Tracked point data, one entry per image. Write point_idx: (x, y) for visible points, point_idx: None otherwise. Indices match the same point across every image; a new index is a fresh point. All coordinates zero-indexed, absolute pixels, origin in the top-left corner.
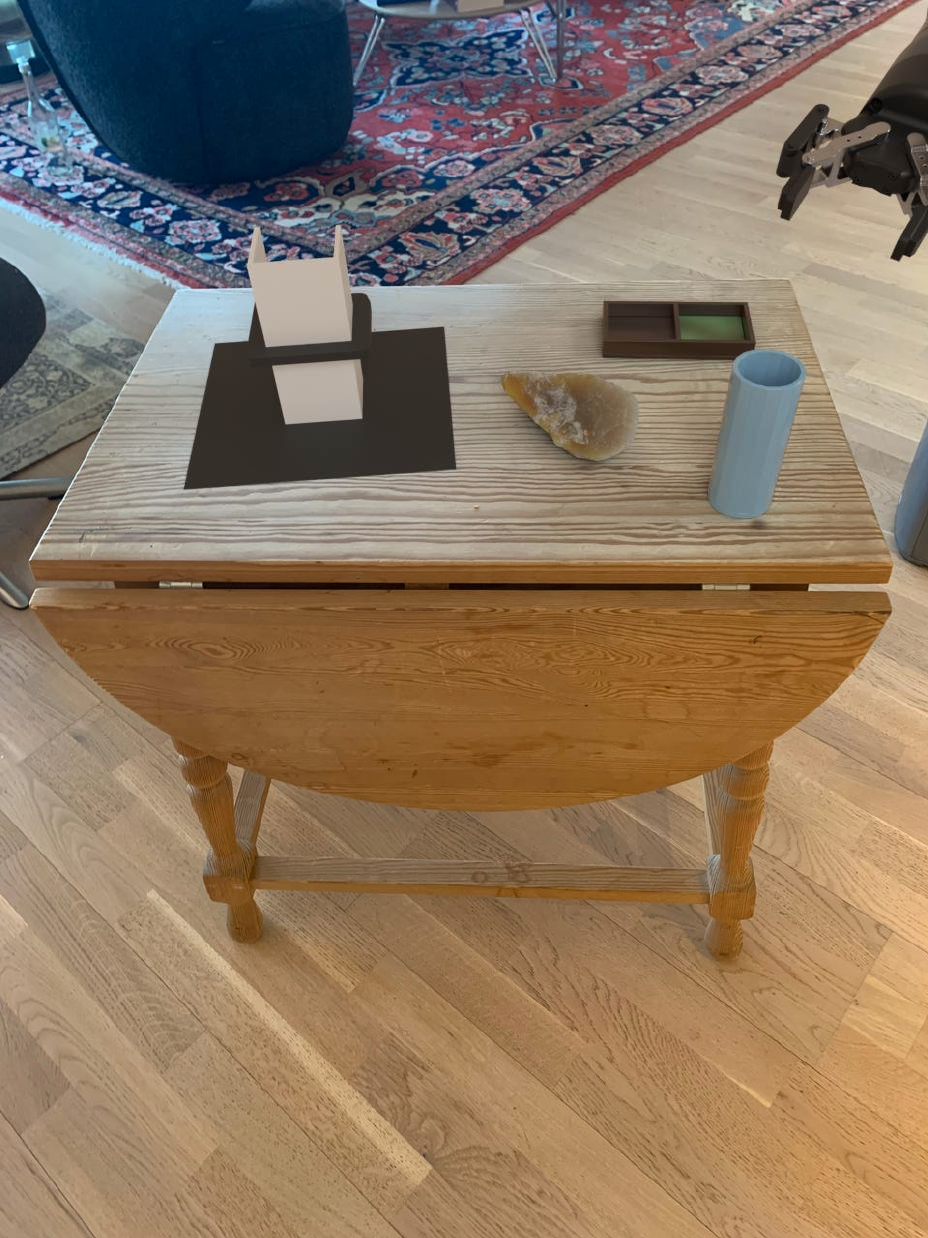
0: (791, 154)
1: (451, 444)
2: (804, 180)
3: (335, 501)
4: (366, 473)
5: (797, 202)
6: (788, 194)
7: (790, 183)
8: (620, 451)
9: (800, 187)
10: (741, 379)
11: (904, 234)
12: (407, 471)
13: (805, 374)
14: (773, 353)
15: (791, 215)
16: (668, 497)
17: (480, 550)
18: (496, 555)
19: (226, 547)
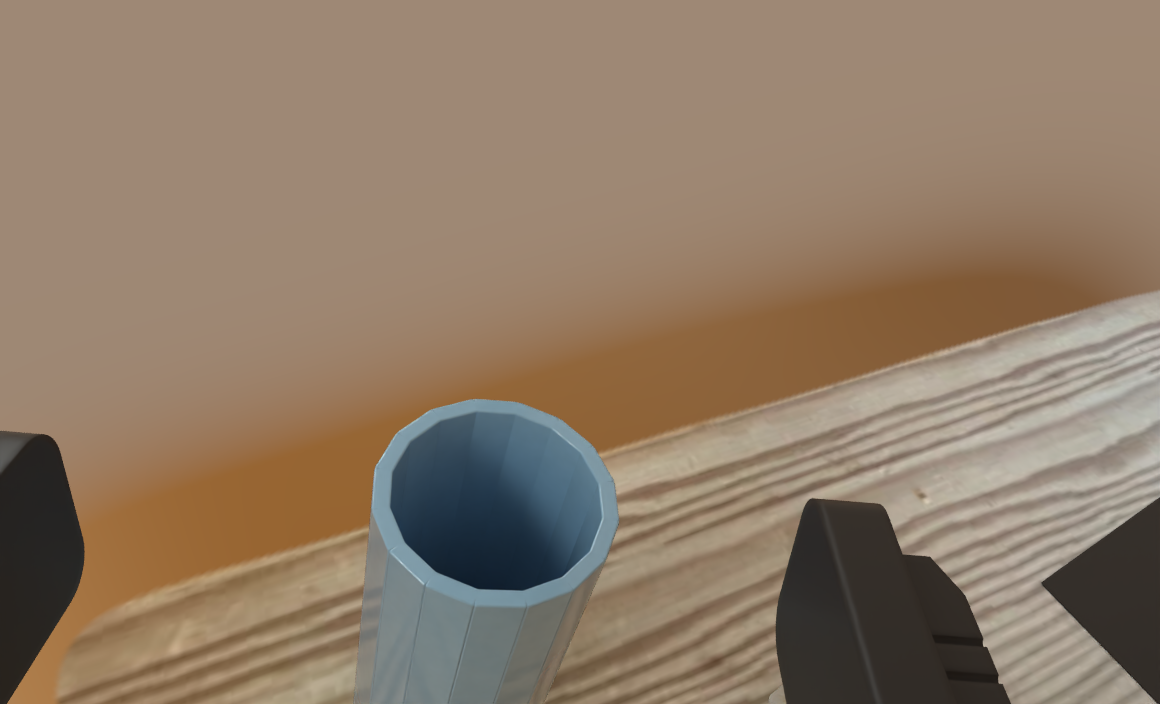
0: None
1: (1117, 654)
2: (877, 636)
3: (1118, 438)
4: (1150, 513)
5: (806, 631)
6: (875, 506)
7: (954, 647)
8: (778, 689)
9: (851, 565)
10: (561, 422)
11: (8, 438)
12: (1103, 544)
13: (373, 495)
14: (509, 590)
15: (782, 627)
16: (603, 662)
17: (839, 407)
18: (809, 405)
19: (1132, 319)
